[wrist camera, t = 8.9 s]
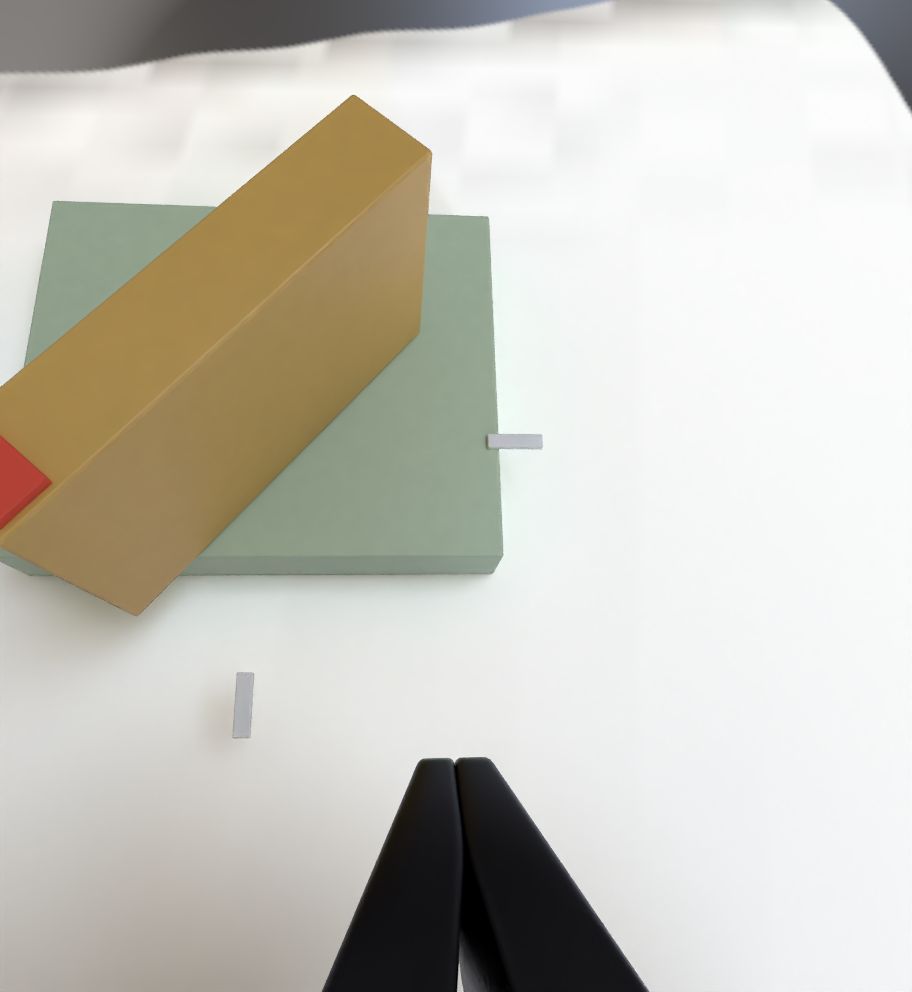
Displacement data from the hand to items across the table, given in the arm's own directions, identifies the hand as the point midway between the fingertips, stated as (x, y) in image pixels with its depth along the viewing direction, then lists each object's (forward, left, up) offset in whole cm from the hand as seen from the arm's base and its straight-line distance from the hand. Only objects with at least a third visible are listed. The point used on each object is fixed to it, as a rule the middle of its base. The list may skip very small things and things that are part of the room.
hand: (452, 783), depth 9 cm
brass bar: (+9, -2, -8) cm, 12 cm away
